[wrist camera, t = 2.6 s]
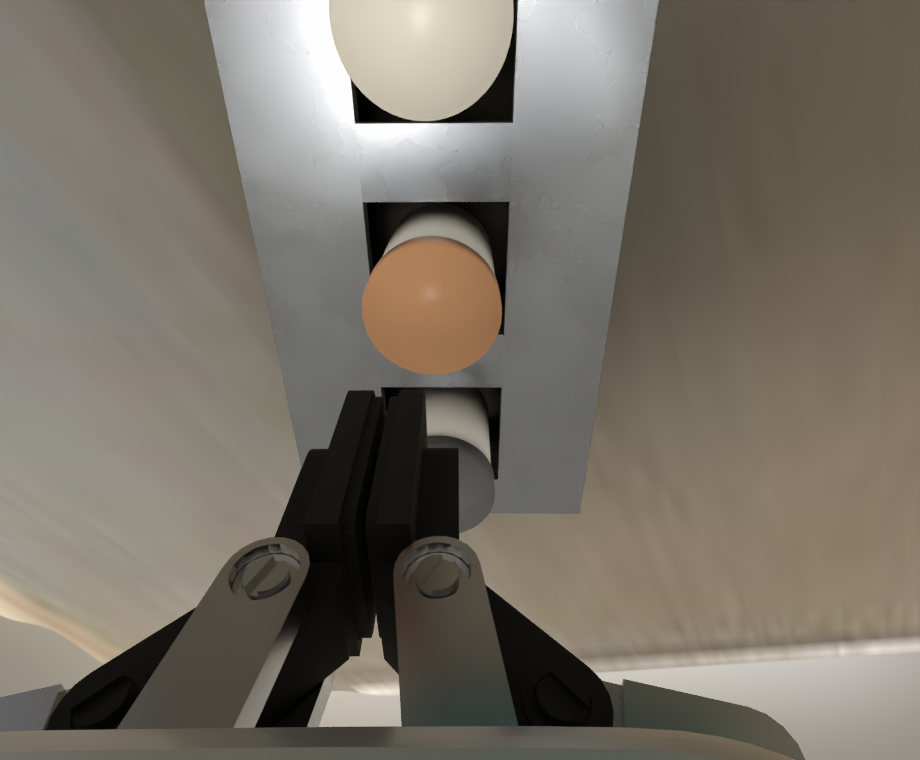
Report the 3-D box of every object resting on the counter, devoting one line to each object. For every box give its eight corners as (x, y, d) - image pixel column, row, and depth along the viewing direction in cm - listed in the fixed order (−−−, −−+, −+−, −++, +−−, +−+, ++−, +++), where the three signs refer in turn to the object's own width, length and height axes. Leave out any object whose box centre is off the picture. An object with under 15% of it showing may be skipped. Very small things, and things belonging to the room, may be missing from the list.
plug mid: (496, 200, 21) (504, 245, 16) (492, 306, 24) (499, 375, 18) (382, 201, 21) (354, 244, 16) (390, 306, 24) (368, 374, 18)
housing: (629, -131, 19) (690, -202, 14) (561, 442, 32) (579, 513, 27) (245, -126, 19) (163, -195, 14) (335, 441, 33) (311, 511, 27)
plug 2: (491, 372, 25) (496, 451, 20) (488, 448, 28) (493, 535, 22) (395, 372, 25) (377, 450, 20) (401, 447, 28) (386, 534, 23)
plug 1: (503, -55, 17) (518, -105, 12) (498, 105, 19) (509, 120, 14) (361, -53, 17) (315, -103, 12) (374, 106, 19) (340, 121, 14)
